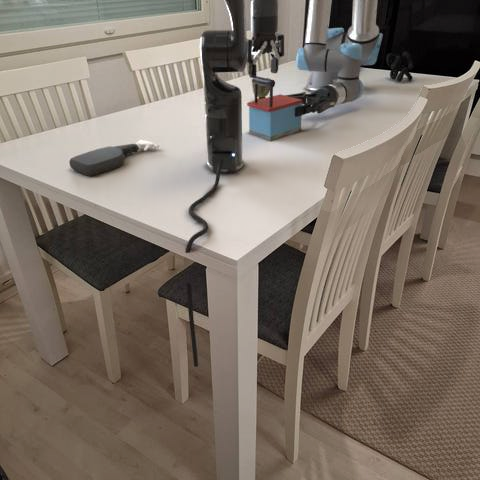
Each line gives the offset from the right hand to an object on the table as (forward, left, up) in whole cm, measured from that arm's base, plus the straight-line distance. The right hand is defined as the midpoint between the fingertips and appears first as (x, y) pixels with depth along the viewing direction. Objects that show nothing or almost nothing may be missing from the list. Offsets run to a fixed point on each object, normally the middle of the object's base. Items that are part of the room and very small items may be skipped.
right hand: (283, 108), depth 142 cm
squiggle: (-84, +26, -7) cm, 88 cm away
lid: (+4, -2, +2) cm, 5 cm away
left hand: (+8, -4, +12) cm, 15 cm away
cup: (-30, -20, -7) cm, 36 cm away
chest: (+3, -2, -7) cm, 8 cm away
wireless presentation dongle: (+42, -34, -7) cm, 55 cm away
